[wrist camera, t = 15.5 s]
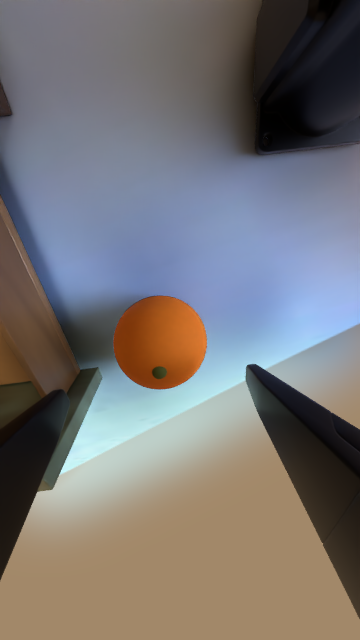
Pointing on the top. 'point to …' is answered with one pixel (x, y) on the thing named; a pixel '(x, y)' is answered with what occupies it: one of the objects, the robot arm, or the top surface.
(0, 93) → the cabinet
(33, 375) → the drawer
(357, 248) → the top surface
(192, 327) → the orange
